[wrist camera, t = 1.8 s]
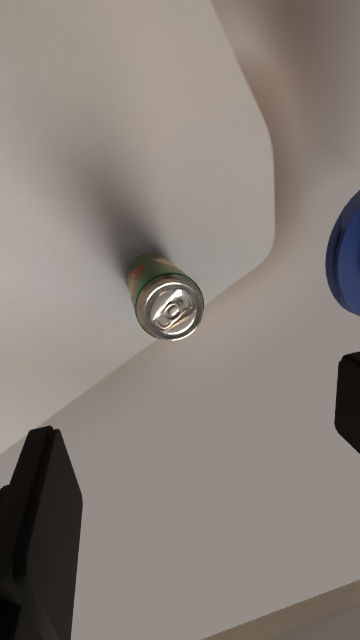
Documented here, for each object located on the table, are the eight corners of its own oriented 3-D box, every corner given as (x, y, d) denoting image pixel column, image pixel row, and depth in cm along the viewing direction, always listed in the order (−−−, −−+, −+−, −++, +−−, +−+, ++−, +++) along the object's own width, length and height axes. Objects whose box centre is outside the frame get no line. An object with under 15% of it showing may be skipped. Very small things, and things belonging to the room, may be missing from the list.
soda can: (183, 278, 33) (222, 313, 22) (148, 309, 33) (169, 359, 22) (152, 242, 31) (178, 259, 20) (115, 275, 31) (120, 310, 20)
